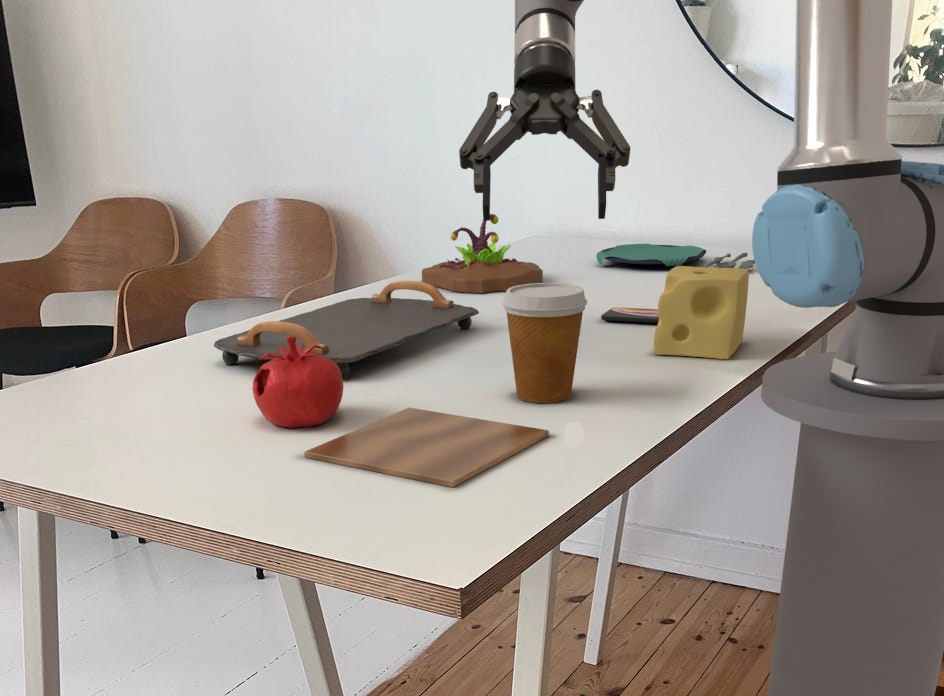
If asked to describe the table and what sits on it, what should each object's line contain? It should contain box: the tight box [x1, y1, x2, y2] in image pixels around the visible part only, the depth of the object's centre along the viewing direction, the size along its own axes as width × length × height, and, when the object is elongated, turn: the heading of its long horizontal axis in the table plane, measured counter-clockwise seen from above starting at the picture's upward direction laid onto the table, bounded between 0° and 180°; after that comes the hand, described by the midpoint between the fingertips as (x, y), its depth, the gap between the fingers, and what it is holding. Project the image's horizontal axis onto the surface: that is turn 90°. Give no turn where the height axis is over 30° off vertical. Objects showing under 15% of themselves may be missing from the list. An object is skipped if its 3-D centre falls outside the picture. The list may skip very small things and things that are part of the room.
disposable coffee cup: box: [501, 282, 588, 404], centre depth 125 cm, size 10×10×12 cm
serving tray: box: [213, 280, 480, 381], centre depth 152 cm, size 39×23×6 cm, turn 150°
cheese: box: [653, 265, 750, 360], centre depth 144 cm, size 10×11×10 cm
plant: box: [421, 213, 544, 294], centre depth 192 cm, size 20×20×11 cm
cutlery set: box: [596, 243, 756, 269], centre depth 205 cm, size 20×30×2 cm, turn 60°
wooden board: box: [303, 407, 550, 488], centre depth 112 cm, size 18×18×1 cm
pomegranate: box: [252, 335, 344, 429], centre depth 120 cm, size 10×10×9 cm
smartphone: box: [600, 306, 659, 324], centre depth 163 cm, size 8×1×15 cm
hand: (544, 212), depth 129 cm, fingers open, 13 cm apart
